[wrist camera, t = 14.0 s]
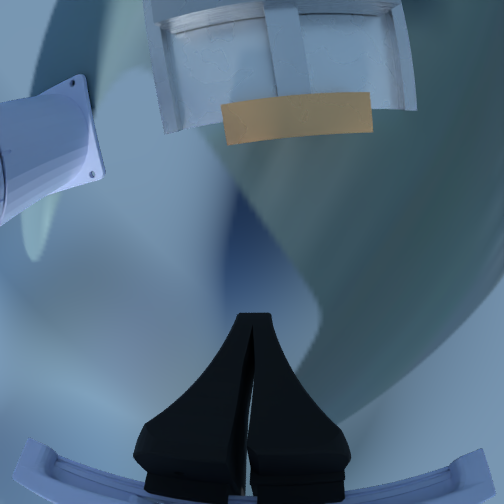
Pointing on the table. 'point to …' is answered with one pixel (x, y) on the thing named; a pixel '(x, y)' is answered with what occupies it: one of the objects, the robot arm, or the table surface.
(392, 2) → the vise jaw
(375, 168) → the table surface
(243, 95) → the vise bed
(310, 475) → the robot arm
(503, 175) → the table surface
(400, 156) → the table surface
